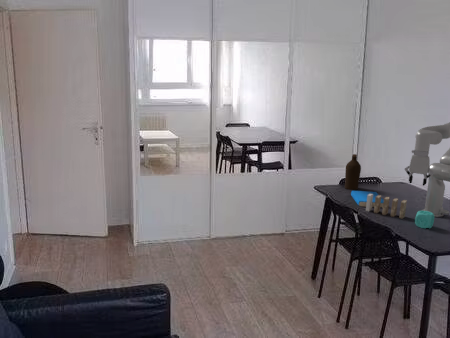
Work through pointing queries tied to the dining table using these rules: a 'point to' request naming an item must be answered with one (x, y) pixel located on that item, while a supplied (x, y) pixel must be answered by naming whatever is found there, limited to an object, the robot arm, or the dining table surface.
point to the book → (364, 198)
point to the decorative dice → (424, 219)
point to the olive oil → (352, 173)
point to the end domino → (369, 202)
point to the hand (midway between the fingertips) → (417, 183)
